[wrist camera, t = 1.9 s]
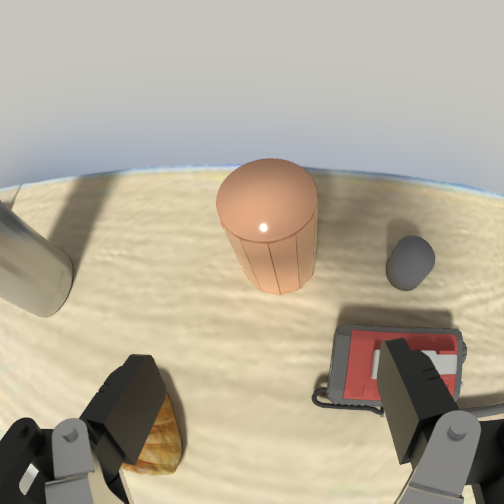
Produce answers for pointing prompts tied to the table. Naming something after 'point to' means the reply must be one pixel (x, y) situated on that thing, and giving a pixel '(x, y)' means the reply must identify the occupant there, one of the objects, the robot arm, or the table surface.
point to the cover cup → (271, 222)
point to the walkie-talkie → (367, 358)
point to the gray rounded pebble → (410, 263)
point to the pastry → (160, 446)
